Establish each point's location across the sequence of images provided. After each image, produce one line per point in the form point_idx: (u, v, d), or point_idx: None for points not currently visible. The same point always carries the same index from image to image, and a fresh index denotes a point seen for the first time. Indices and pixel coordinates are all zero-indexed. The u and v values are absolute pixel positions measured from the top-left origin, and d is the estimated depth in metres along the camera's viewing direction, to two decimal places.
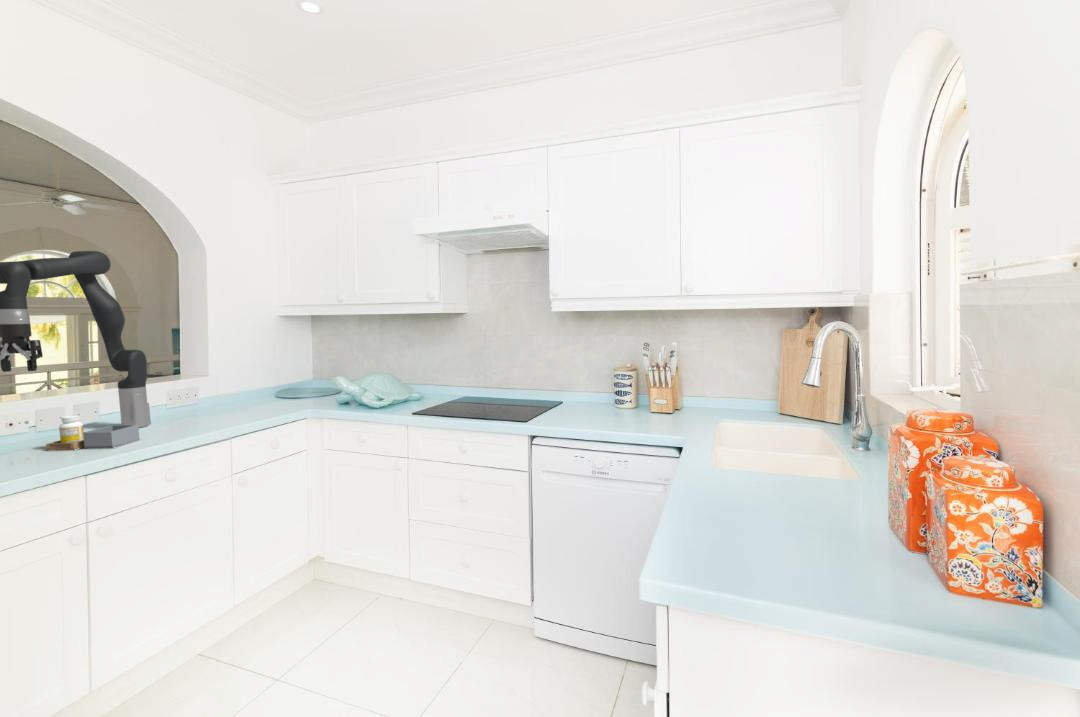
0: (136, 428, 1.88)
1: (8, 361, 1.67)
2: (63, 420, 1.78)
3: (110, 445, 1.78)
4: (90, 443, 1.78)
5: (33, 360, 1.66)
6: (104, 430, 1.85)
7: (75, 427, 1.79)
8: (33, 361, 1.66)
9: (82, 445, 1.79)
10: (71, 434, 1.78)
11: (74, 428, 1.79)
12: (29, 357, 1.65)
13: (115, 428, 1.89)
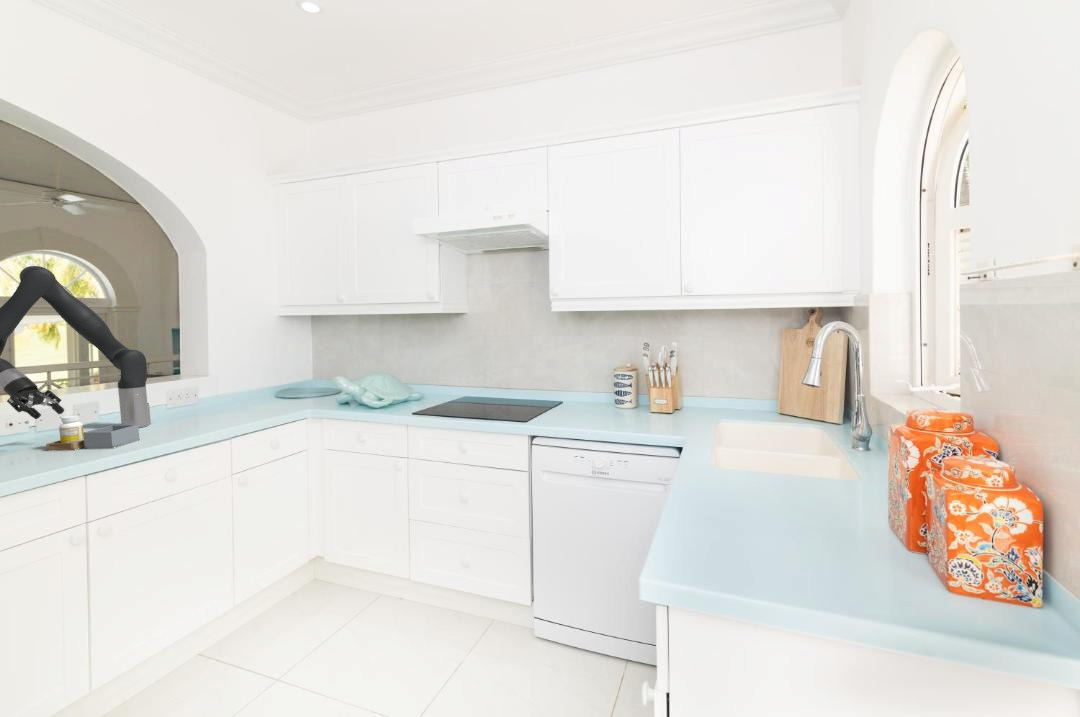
0: (136, 428, 1.88)
1: (55, 405, 1.84)
2: (63, 420, 1.78)
3: (110, 445, 1.78)
4: (90, 443, 1.78)
5: (27, 411, 1.74)
6: (104, 430, 1.85)
7: (75, 427, 1.79)
8: (28, 411, 1.74)
9: (82, 445, 1.79)
10: (71, 434, 1.78)
11: (74, 428, 1.79)
12: None
13: (115, 428, 1.89)
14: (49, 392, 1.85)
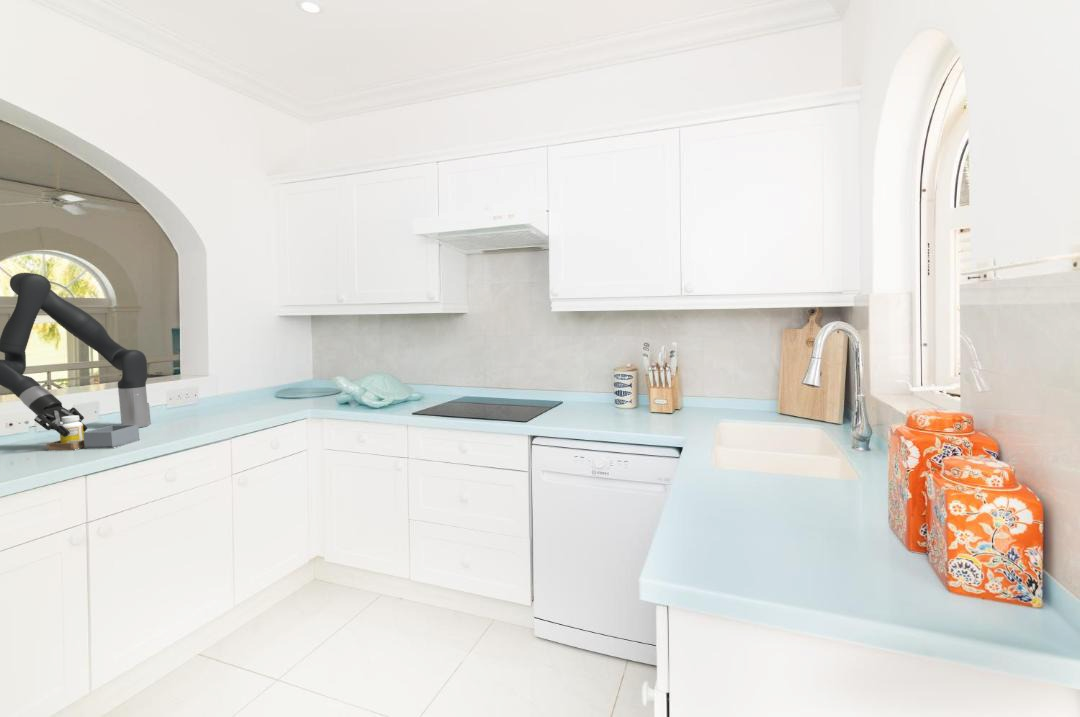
0: (136, 428, 1.88)
1: None
2: (63, 420, 1.78)
3: (110, 445, 1.78)
4: (90, 443, 1.78)
5: (56, 429, 1.76)
6: (104, 430, 1.85)
7: (75, 427, 1.79)
8: (57, 429, 1.76)
9: (82, 445, 1.79)
10: (71, 434, 1.78)
11: (74, 427, 1.79)
12: (53, 428, 1.76)
13: (115, 428, 1.89)
14: (74, 409, 1.86)
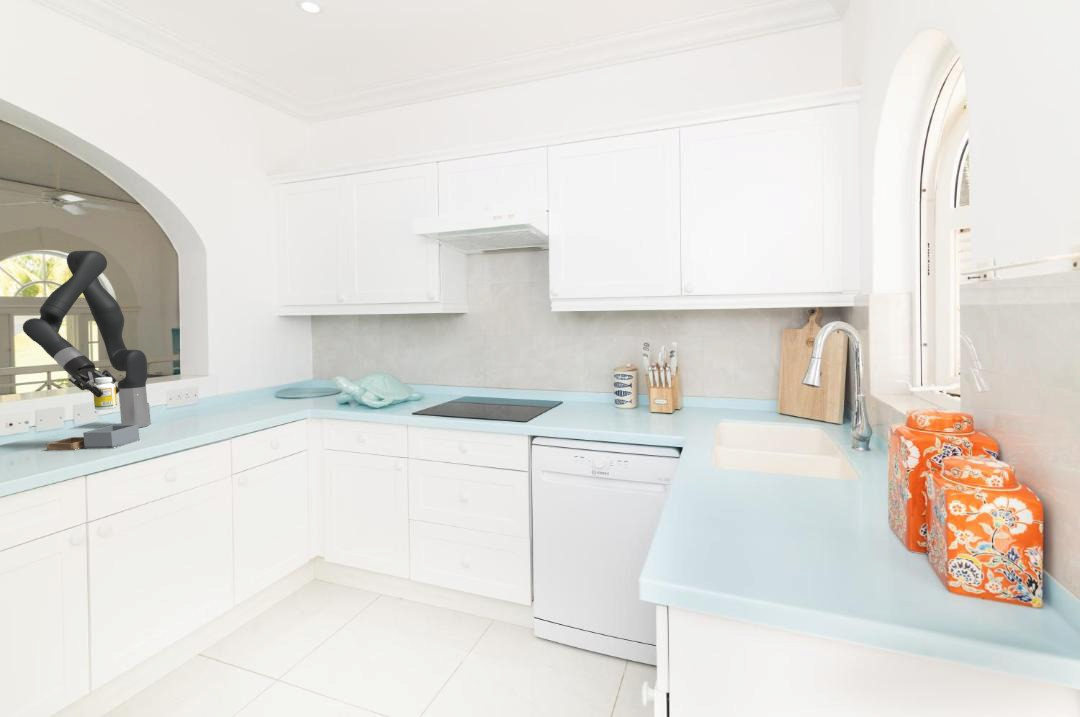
0: (136, 428, 1.88)
1: None
2: (97, 381, 1.79)
3: (110, 445, 1.78)
4: (90, 443, 1.78)
5: (90, 389, 1.77)
6: (104, 430, 1.85)
7: (109, 388, 1.80)
8: (91, 390, 1.77)
9: (82, 445, 1.79)
10: (104, 395, 1.80)
11: (107, 389, 1.80)
12: None
13: (115, 428, 1.89)
14: (106, 372, 1.87)
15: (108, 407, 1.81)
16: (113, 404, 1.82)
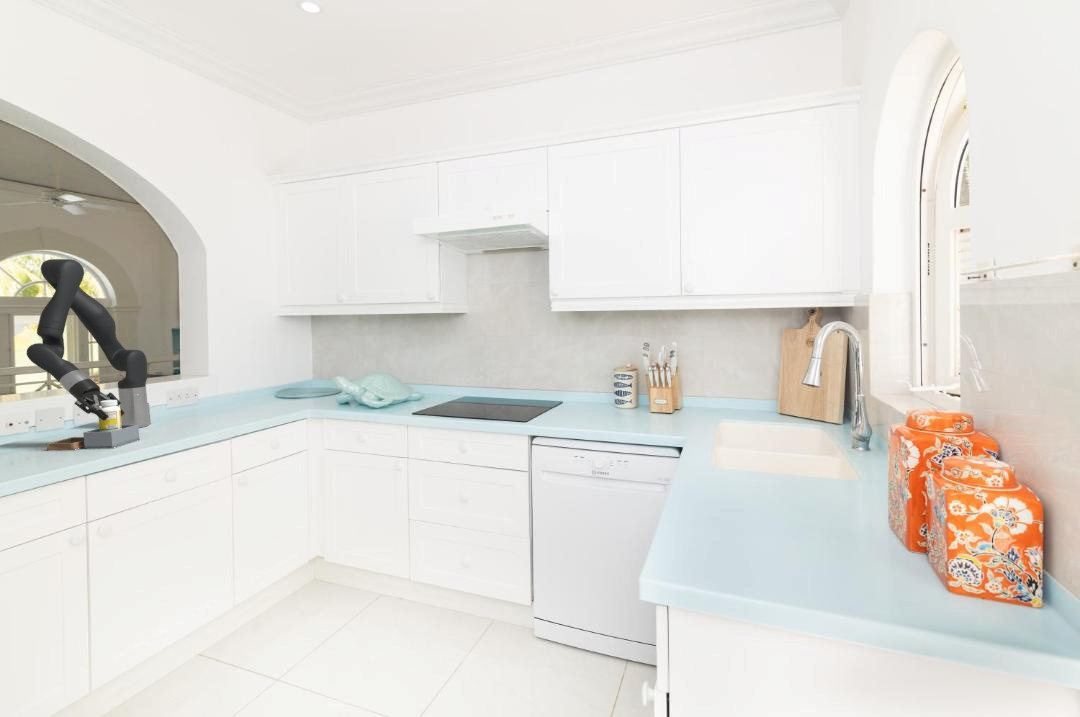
0: (136, 428, 1.88)
1: None
2: (102, 404, 1.80)
3: (110, 445, 1.78)
4: (90, 443, 1.78)
5: (95, 412, 1.78)
6: None
7: (114, 411, 1.81)
8: (96, 413, 1.78)
9: (82, 445, 1.79)
10: (110, 418, 1.81)
11: (113, 412, 1.81)
12: (92, 412, 1.78)
13: None
14: (111, 394, 1.88)
15: (113, 430, 1.81)
16: (117, 427, 1.83)
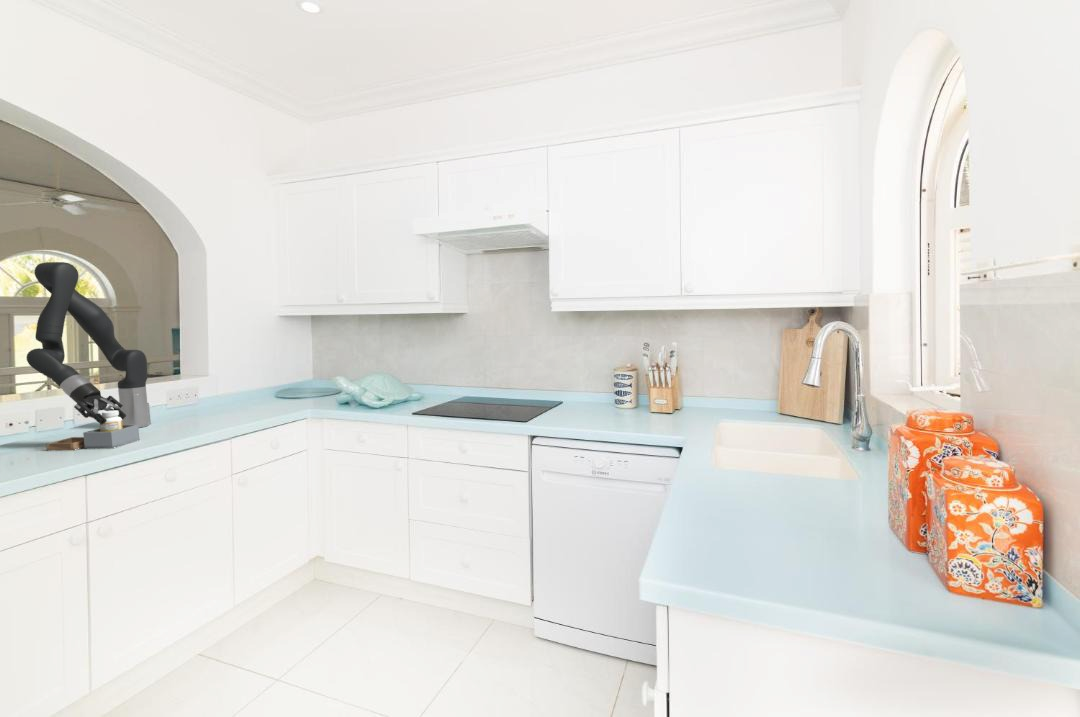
0: (136, 428, 1.88)
1: (117, 410, 1.87)
2: (104, 415, 1.81)
3: (110, 445, 1.78)
4: (90, 443, 1.78)
5: (93, 416, 1.78)
6: None
7: (115, 422, 1.82)
8: (94, 417, 1.78)
9: (82, 445, 1.79)
10: (111, 429, 1.81)
11: (114, 422, 1.82)
12: None
13: None
14: (111, 398, 1.88)
15: None
16: None
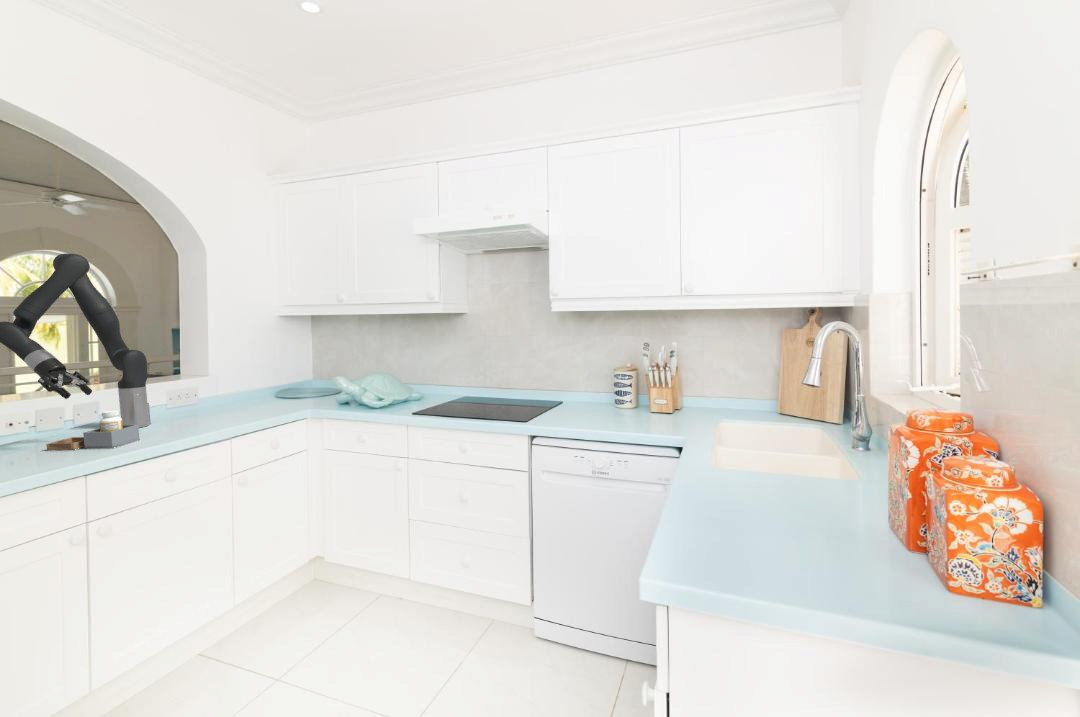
0: (136, 428, 1.88)
1: (83, 386, 1.86)
2: (103, 415, 1.81)
3: (110, 445, 1.78)
4: (90, 443, 1.78)
5: (57, 391, 1.77)
6: None
7: (115, 422, 1.82)
8: (58, 391, 1.77)
9: (82, 445, 1.79)
10: (111, 429, 1.81)
11: (114, 422, 1.82)
12: None
13: None
14: (77, 373, 1.88)
15: None
16: None
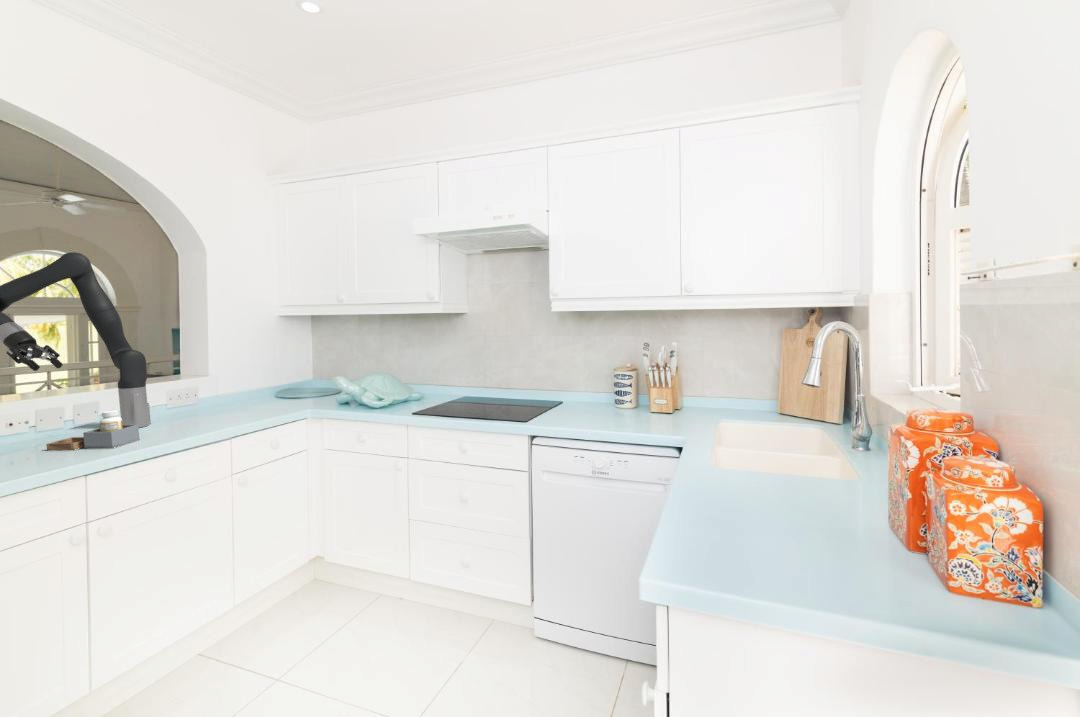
0: (136, 428, 1.88)
1: (53, 359, 1.87)
2: (103, 415, 1.81)
3: (110, 445, 1.78)
4: (90, 443, 1.78)
5: (26, 363, 1.78)
6: None
7: (115, 422, 1.82)
8: (27, 363, 1.78)
9: (82, 445, 1.79)
10: (111, 429, 1.81)
11: (114, 422, 1.82)
12: None
13: None
14: (48, 347, 1.89)
15: None
16: None
